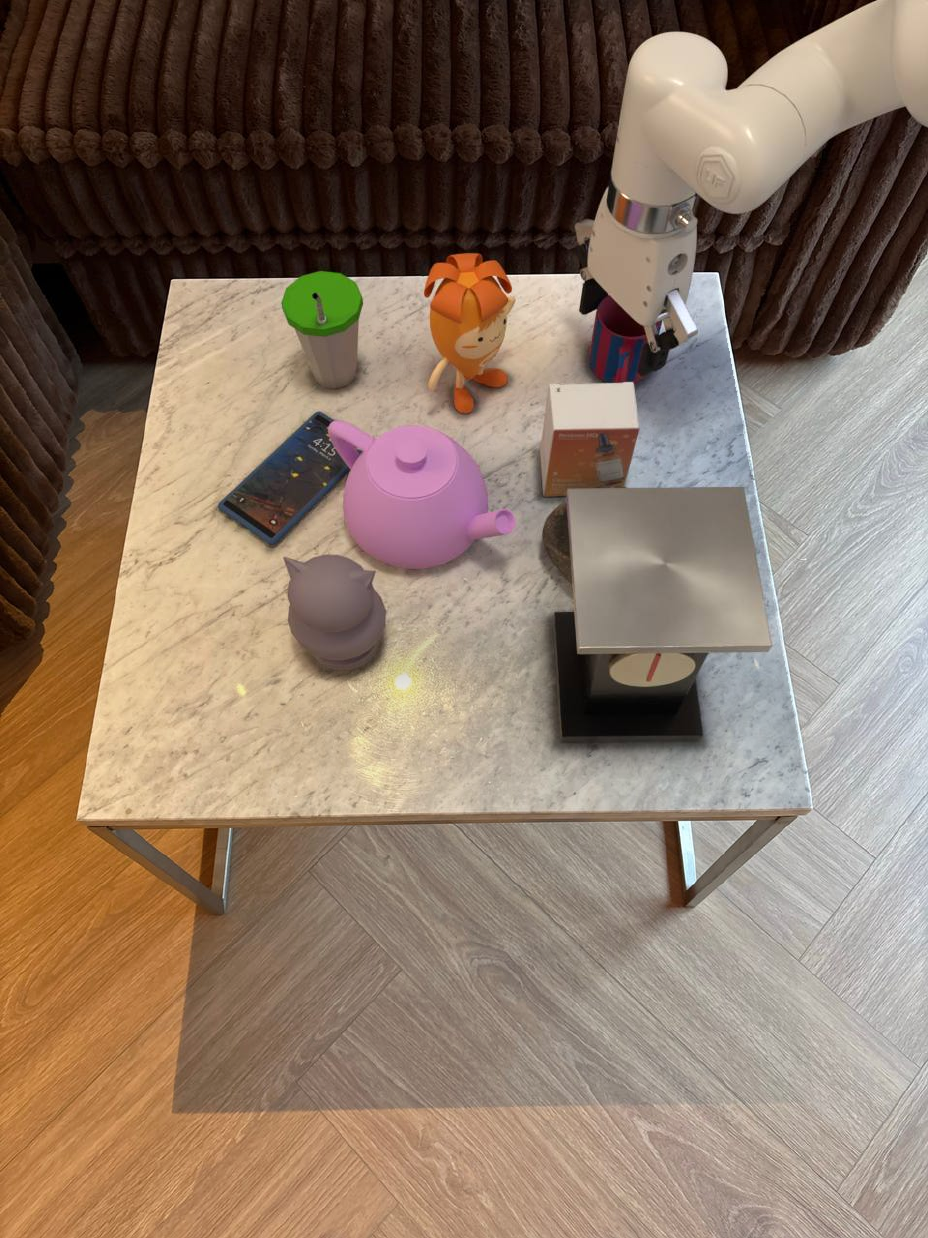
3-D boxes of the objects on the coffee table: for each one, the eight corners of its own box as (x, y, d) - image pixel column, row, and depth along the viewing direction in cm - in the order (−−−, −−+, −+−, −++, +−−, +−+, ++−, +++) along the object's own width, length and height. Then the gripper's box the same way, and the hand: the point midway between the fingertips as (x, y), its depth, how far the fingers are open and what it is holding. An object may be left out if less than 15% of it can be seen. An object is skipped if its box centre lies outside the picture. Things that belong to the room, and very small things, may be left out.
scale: (688, 613, 87) (744, 486, 69) (706, 747, 81) (772, 646, 63) (547, 614, 87) (567, 488, 69) (554, 748, 81) (578, 648, 63)
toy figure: (453, 436, 97) (450, 329, 83) (401, 393, 99) (390, 282, 86) (534, 374, 100) (543, 261, 87) (481, 334, 103) (483, 219, 90)
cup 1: (322, 336, 103) (300, 221, 90) (385, 360, 101) (372, 247, 88) (284, 385, 100) (255, 274, 86) (348, 411, 98) (329, 302, 85)
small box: (542, 498, 93) (550, 430, 84) (539, 452, 96) (546, 381, 86) (623, 496, 93) (641, 428, 84) (618, 451, 96) (634, 379, 86)
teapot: (472, 622, 87) (472, 563, 77) (298, 523, 92) (279, 456, 82) (548, 516, 92) (557, 448, 83) (380, 428, 97) (371, 355, 88)
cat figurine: (287, 671, 85) (260, 609, 74) (308, 595, 88) (286, 525, 77) (380, 686, 84) (367, 625, 73) (398, 609, 87) (388, 540, 77)
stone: (685, 572, 89) (696, 544, 85) (595, 630, 86) (602, 604, 82) (610, 491, 93) (617, 460, 89) (522, 543, 91) (525, 514, 86)
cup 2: (656, 345, 102) (668, 297, 96) (638, 415, 98) (650, 369, 92) (595, 332, 103) (603, 284, 97) (575, 402, 99) (582, 355, 92)
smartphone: (214, 504, 92) (317, 408, 97) (216, 509, 92) (318, 413, 98) (272, 545, 90) (374, 444, 95) (273, 549, 90) (374, 449, 96)
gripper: (752, 237, 78) (704, 378, 94) (624, 123, 85) (599, 271, 100) (681, 273, 77) (644, 410, 92) (557, 153, 83) (541, 300, 98)
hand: (621, 338), depth 96 cm, fingers open, 9 cm apart
